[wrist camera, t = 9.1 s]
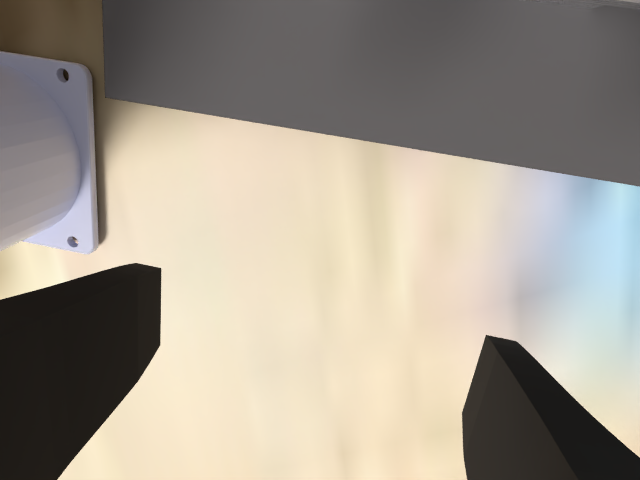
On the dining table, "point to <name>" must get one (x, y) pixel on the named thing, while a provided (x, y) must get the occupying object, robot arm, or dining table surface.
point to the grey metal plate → (593, 3)
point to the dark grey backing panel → (398, 73)
